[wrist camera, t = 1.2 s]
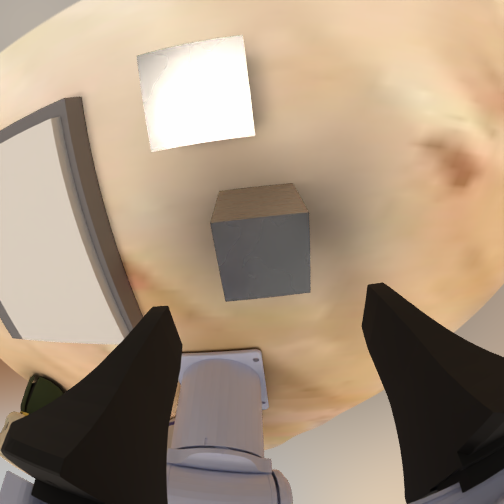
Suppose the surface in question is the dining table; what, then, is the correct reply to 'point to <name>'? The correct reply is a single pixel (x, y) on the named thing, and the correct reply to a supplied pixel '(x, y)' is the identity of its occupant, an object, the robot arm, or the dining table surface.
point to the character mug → (31, 404)
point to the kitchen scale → (58, 235)
